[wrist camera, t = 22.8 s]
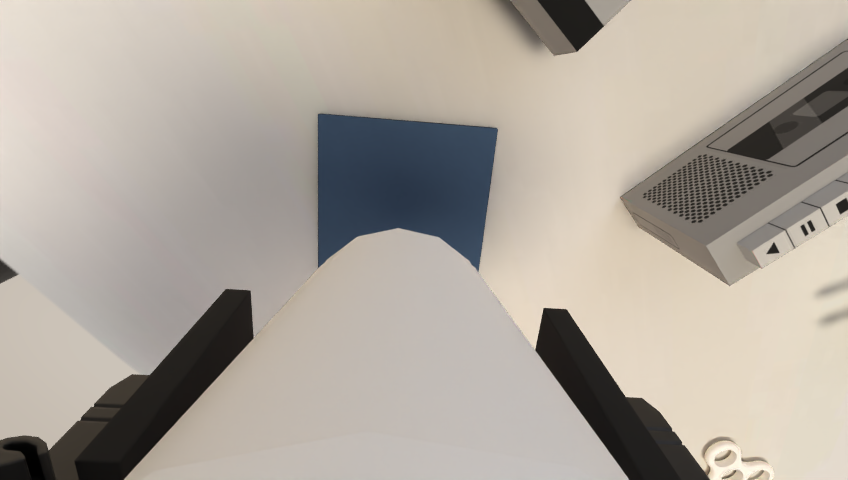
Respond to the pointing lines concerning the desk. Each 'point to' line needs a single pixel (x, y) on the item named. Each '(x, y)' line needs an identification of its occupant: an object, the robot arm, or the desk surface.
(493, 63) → the desk surface
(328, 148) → the blue mat
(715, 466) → the fidget spinner
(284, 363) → the foam cup
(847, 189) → the cassette player
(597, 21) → the game console
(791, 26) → the desk surface
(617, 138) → the desk surface
